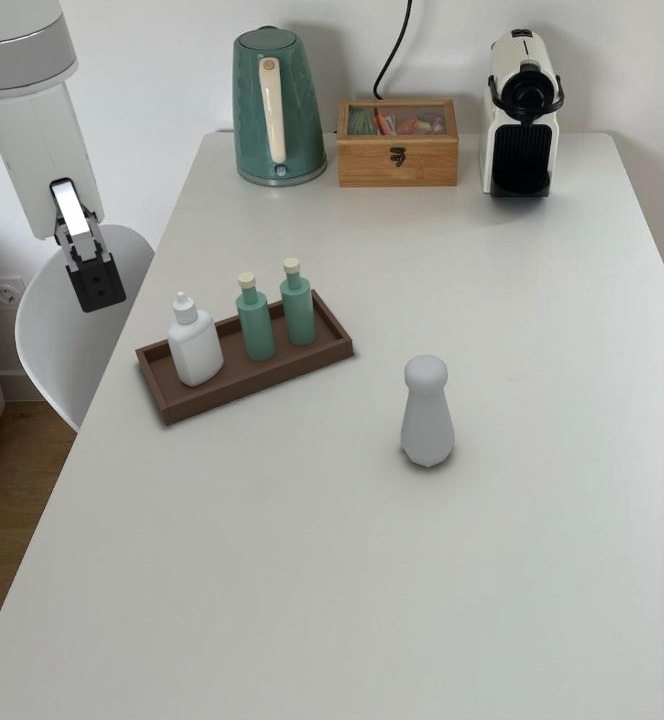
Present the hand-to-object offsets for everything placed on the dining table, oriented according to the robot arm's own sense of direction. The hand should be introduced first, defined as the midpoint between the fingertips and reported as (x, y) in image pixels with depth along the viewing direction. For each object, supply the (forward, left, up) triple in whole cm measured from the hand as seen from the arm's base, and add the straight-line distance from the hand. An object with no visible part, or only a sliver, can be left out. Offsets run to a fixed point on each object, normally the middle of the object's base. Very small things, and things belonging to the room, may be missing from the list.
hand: (90, 270), depth 63 cm
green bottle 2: (+22, +18, -30) cm, 41 cm away
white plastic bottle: (+8, +18, -30) cm, 36 cm away
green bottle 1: (+16, +18, -30) cm, 38 cm away
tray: (+14, +18, -30) cm, 38 cm away
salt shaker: (+26, -6, -31) cm, 41 cm away
